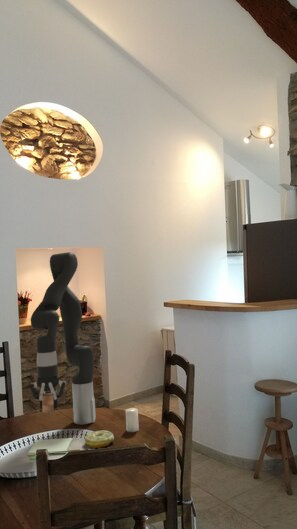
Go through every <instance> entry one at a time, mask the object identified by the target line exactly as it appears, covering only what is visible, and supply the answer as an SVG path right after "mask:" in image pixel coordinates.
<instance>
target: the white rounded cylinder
mask: <svg viewBox="0 0 297 529" xmlns="http://www.w3.org/2000/svg"><path fill="white" fill-rule="evenodd" d="M138 410H139V409H138V408H134V407H132V408H127V409H125V424H126V428H125V429H126V432H127V433H135V432H138V431H139V430H140V428H139V427H140V426H139V411H138Z"/></svg>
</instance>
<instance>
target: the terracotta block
mask: <svg viewBox="0 0 297 529" xmlns="http://www.w3.org/2000/svg"><path fill="white" fill-rule="evenodd" d="M42 408H43V410H42V413H54V412H55V411H56V410H54V398H53V395H52V393H51V392H49V393H48V392H45V394H44V395H43V396H42Z"/></svg>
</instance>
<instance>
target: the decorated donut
mask: <svg viewBox="0 0 297 529" xmlns="http://www.w3.org/2000/svg"><path fill="white" fill-rule="evenodd" d="M114 440H115V436H114V434H113V433H112V432H111V431H109V430H96V431H92V432H89V433H87V434H86V435H85V437H84V443H85V444H86V445H87V446H88V447H89V448H91V449H92V448H93V449H98V448H99V449H100V448H105V447H107V446H109V445H110V444H111V443H112V442H113V441H114Z"/></svg>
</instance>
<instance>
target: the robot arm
mask: <svg viewBox="0 0 297 529" xmlns="http://www.w3.org/2000/svg"><path fill="white" fill-rule="evenodd" d="M78 262H79V261H78V258H77V256H76V254H75V253H74V252H71V251H69V252H62V253H56V254H55V253H54V254H52V255H51V256H50V258H49V268H50V271H51V276H52V279H53V281H52V282H51V284H49V286H47V289H46V290H45V292H44V295H43V298H42V300H41V302H40V303H39V304H38V306H37V307H36V308H35V310H33V312H32V313H31V314H32V315H31V317H30V325H31V327H32V328H33V329H34V330H39V331H40V330H41V331H42V330H47V333H45V334H43V335H41V336H40V335H39V336H38V337H37V338H36V351H37V352H36V372H37V373H36V374H37V375H36V376H37V377H36V378H37V379H36V380H35V382H31V383H30V384H29V388H30V391H31V393H32V395H33V398H34V399H35V400H38V401H39V408H40V410H41V411H43V408H42V396H43V395H44V394H45V393H46V392H50V393H52V395H53V398H54V410H55V411H56V410H57V408H58V407H59V399H61V398H62V397H63V395H64V392H65V390H66V389H65V388H66V385H67V380H60V378H59V371H58V369H59V368H58V355H57V342H56V340H57V334H58V328H59V325H60V317H61V323H62V327H63V328H62V329H63V334H64V344H65V355H66V360H67V362H68V364H69V365H70V366H72V367H78V373H77V374H74V375H72V377H71V390H72V411H73V423H74V424H76V425H89V424H92V423H95V422H96V402H95V401H96V400H95V395H94V383H93V382H94V374H95V354H94V350H93V348H92V347H91V346H89V345H80V342H79V336H78V333H79V329H80V326H81V324H82V319H83V312H82V306H81V305H82V304H81V301H80V299H79V298H78V297H77V295H76V294H75V293H74V292H73V291H72V289H71V288H70V287H69V284H70V283H71V281H72V278H73V277H74V275H75V273H76V271H77V269H78ZM58 310H59V313H58V312H57V311H58ZM58 385H59V387H60V389H59V393H58V390H57V386H58ZM38 387H39V388H40V392H39V391H38V389H37V388H38Z"/></svg>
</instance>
